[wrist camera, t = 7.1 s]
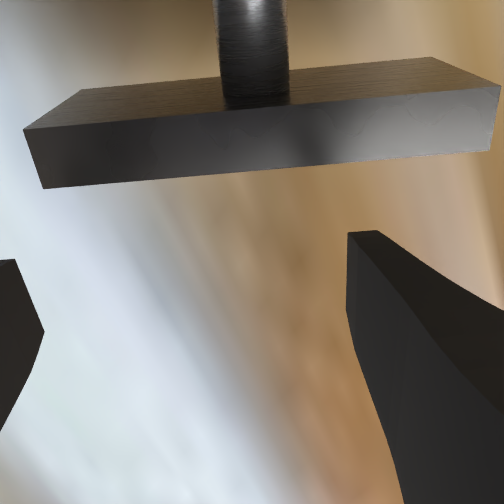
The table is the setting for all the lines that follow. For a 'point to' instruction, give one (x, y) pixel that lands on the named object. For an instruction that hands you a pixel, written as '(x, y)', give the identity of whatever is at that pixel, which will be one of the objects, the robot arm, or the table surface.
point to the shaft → (262, 113)
